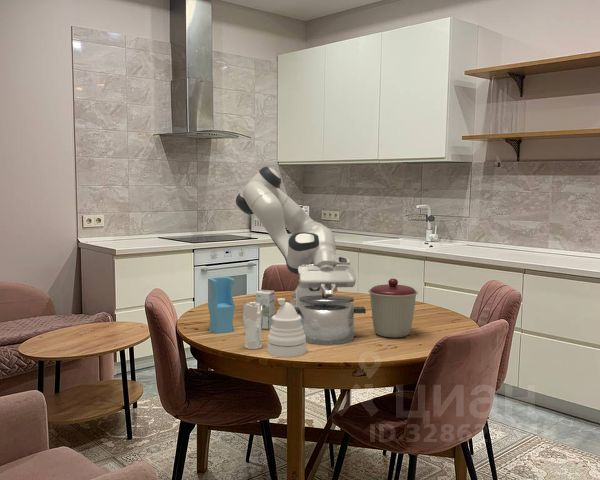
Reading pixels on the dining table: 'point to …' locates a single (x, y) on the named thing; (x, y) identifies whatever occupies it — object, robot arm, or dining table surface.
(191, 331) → the dining table surface
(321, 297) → the cooker lid
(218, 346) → the dining table surface
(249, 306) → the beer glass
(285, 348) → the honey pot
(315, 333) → the cooker pot
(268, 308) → the syrup box
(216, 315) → the blue toy chair
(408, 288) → the canister
